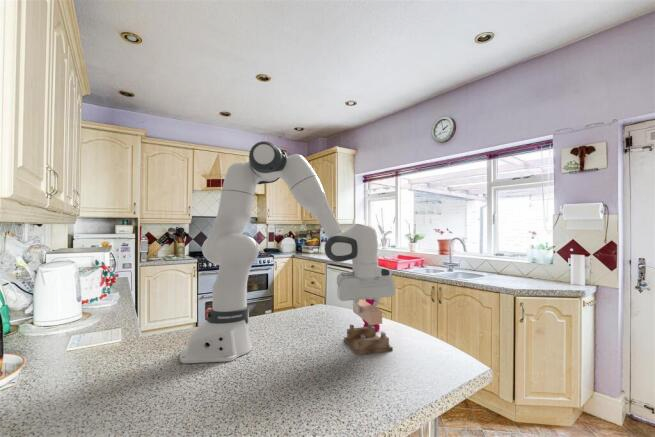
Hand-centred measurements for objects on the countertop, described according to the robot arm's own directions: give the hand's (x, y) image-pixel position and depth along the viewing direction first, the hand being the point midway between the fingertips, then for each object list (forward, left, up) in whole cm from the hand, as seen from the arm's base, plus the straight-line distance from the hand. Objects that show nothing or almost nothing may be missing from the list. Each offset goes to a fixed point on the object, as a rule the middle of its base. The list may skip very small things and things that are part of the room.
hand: (366, 311), depth 109 cm
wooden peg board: (0, 0, -11) cm, 11 cm away
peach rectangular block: (0, 0, -2) cm, 2 cm away
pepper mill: (+8, +15, -12) cm, 20 cm away
